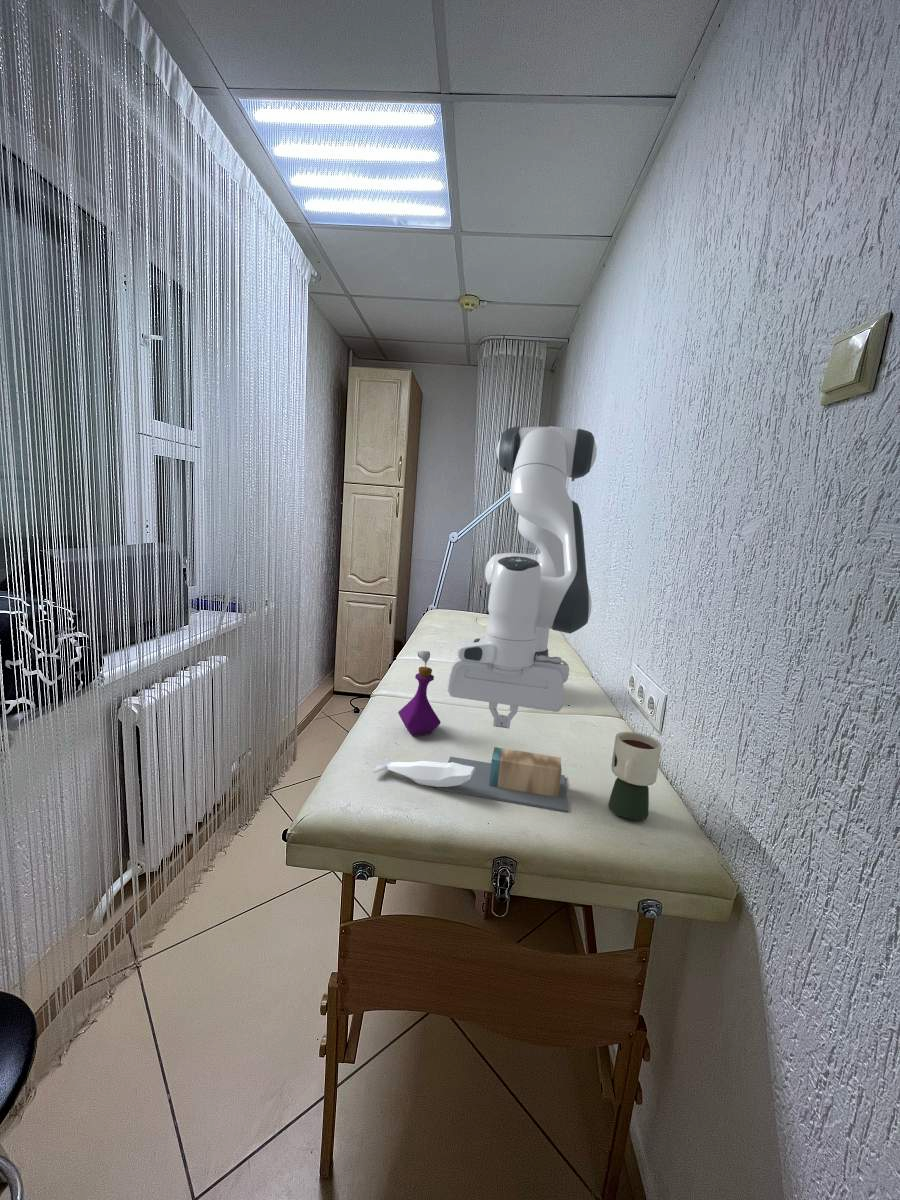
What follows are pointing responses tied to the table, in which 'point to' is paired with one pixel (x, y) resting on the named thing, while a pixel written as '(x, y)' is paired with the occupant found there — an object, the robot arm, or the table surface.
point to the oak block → (525, 772)
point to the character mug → (633, 774)
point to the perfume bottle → (420, 704)
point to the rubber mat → (482, 789)
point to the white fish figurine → (429, 772)
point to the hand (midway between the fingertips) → (501, 726)
